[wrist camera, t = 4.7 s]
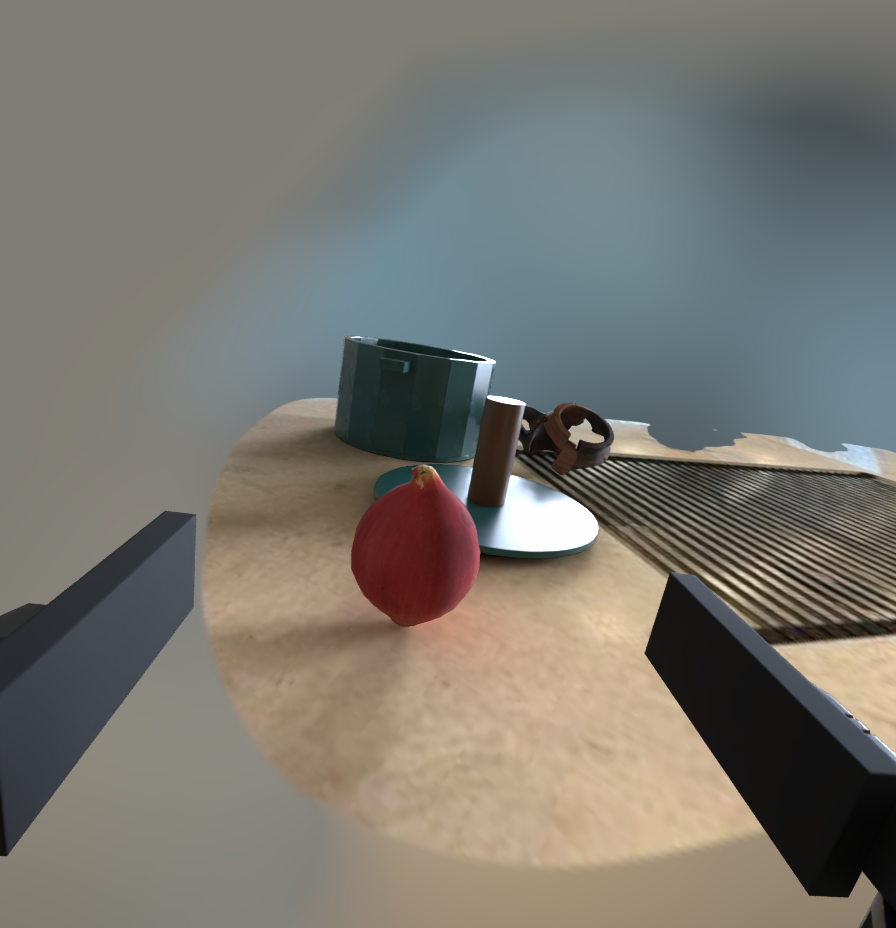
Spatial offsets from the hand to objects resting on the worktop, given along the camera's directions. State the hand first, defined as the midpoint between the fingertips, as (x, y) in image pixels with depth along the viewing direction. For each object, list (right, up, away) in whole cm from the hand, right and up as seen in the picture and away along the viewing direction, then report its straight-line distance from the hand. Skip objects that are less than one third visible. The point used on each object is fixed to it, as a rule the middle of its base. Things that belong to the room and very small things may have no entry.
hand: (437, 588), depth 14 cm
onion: (-2, -4, +10) cm, 11 cm away
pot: (-4, +6, +45) cm, 45 cm away
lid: (+3, 0, +26) cm, 26 cm away
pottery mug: (+13, +3, +46) cm, 47 cm away
